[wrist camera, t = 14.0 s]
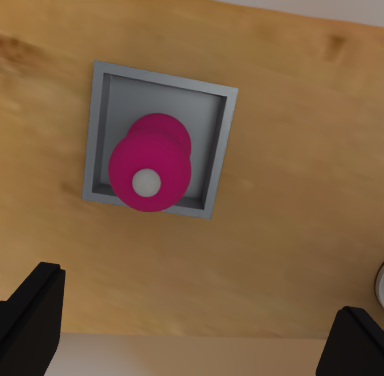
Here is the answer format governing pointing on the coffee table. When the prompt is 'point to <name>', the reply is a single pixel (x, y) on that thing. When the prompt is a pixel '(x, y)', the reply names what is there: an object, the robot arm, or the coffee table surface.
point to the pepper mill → (152, 163)
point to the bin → (167, 104)
